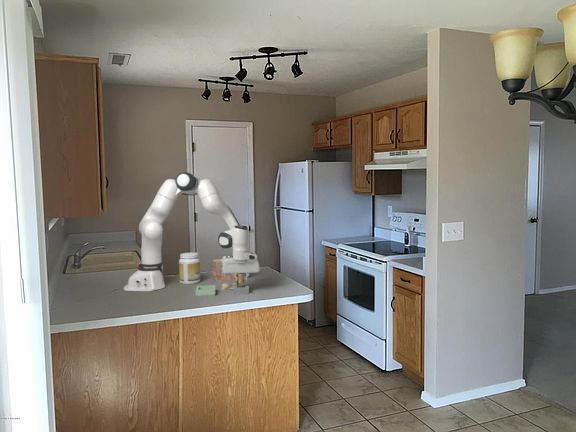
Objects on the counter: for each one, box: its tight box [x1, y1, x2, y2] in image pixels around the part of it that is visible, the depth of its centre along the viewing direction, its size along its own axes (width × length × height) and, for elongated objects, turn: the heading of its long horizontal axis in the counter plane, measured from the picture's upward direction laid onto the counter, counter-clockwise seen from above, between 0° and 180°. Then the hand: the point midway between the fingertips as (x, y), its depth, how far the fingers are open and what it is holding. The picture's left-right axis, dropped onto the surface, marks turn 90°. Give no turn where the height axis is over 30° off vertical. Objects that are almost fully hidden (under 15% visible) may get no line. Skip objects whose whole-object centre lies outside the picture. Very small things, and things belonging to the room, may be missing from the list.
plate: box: [221, 282, 237, 291], centre depth 274 cm, size 8×6×2 cm
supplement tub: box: [178, 252, 201, 285], centre depth 288 cm, size 12×12×17 cm
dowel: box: [238, 273, 245, 288], centre depth 266 cm, size 3×3×10 cm
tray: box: [195, 284, 217, 297], centre depth 264 cm, size 10×10×3 cm
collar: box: [233, 284, 250, 295], centre depth 267 cm, size 8×8×3 cm
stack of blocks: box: [212, 258, 251, 282], centre depth 297 cm, size 21×6×12 cm, turn 116°
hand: (241, 280), depth 266 cm, fingers closed on dowel, 3 cm apart
